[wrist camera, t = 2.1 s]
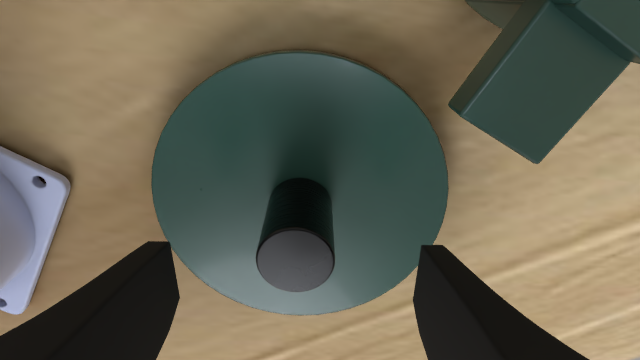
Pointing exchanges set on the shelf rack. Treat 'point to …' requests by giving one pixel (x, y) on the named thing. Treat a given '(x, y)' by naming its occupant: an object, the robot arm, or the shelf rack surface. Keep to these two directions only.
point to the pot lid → (299, 182)
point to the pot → (546, 67)
